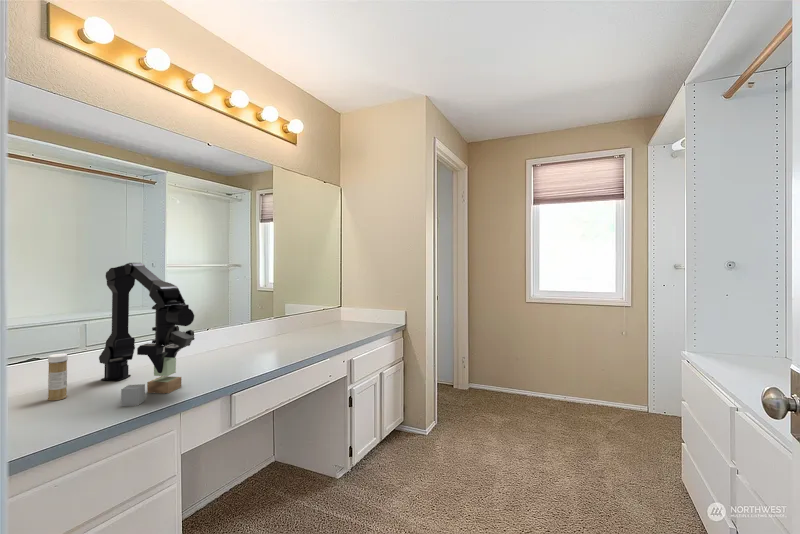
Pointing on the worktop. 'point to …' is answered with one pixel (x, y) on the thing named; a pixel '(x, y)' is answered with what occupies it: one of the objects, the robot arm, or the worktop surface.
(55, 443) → the worktop surface
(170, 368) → the sage block
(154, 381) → the base block
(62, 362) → the sprinkles bottle
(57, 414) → the worktop surface
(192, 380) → the worktop surface
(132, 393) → the slate block
